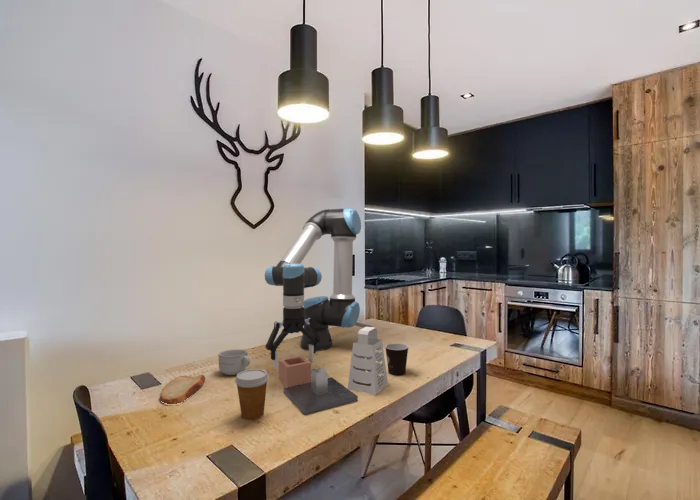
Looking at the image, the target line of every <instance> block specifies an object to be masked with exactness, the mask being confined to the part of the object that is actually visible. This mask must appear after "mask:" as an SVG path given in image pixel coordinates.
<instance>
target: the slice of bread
mask: <svg viewBox="0 0 700 500" xmlns="http://www.w3.org/2000/svg"><path fill="white" fill-rule="evenodd" d="M205 380H206V377H205V374H200V375H197V376H187V375H179V376H177V377H174V379H172V380H170V381H168V383H166V385H164V386H163V388H162V390H161V393H160V397H159V400H160V399H161V401H162V402H164V403H167V404H177V403H181V402H183V401H184V400H186V399H187V398H189V397H190V396H191V395H192V394H193V393H194V394H195V393H197V392H198V391H199V389H200V388H201V387H202V386H203V385H204V383H205ZM196 391H197V392H196ZM194 394H193V395H194ZM193 395H192V396H193ZM192 396H191V397H192ZM191 397H190V398H191ZM190 398H189V399H190ZM161 401H160V402H161ZM186 401H187V400H186ZM183 403H184V402H183Z"/></svg>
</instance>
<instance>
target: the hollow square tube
mask: <svg viewBox="0 0 700 500" xmlns="http://www.w3.org/2000/svg"><path fill="white" fill-rule="evenodd" d="M311 370H312V363H311V362H310V361H309V359H307V358H305V356H303V355H299V356H297V355H296V356H292V357H287V358H286V357H285V358H281V359H278V379H279V381H281V382H282V383H283V384H284V386H285V387H291V386H295V385H300V384H304V383H309V382H311Z"/></svg>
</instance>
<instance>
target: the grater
mask: <svg viewBox="0 0 700 500" xmlns="http://www.w3.org/2000/svg"><path fill="white" fill-rule="evenodd" d="M383 345H384V344H383V340H382V339H379V338H378V329H377V328H376V327H373V326H364V327H363V328H361V329H359V330H358V332H357V339H356V340H355V341H354V342H352V349H351V358H350V365H349V374H348V382H347V383H348V384H347V389H349V390H350V391H351V390H352V391H356V392H361V393H366V394H370V395H373V396H375V395H378V393H379V392H380V391H382V390H383V389H384V388H385V387H386V386H387V385H388V384H389V381H388V374H387V372H388V371H387V365H386V359H385V352H384V346H383ZM358 383H359V384H358ZM364 384H367V385H364ZM369 384H370V385H369Z"/></svg>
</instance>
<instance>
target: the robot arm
mask: <svg viewBox="0 0 700 500" xmlns="http://www.w3.org/2000/svg"><path fill="white" fill-rule="evenodd" d="M361 221H362V220H361V217H360V215H359V212H358V211H357V210H355V209H354V208H335V209H333V208H332V209H329V208H328V209H322V210H320V211H318V212H316V213H314V214H313V215H312V216H310V218H308V219H307V221H306V222H305V223H304V224H303V226H302V231H301V232H300V233H299V235H298V236H297V238H296V239H295V240H294V241H293V243H292V244H291V245H290V247H289V248H288V250H287V251H286V252H285V254H284V255H283V256H282V258H281V259H280V260H279V261H278V263H277V264H276V266H274V265H273V266H269V267H267V268H266V270H265V273H264V280H265V282H266V283H267V284H268V285H270V286H276V287H282V290H283V293H282V306H283V307H282V321H274V323H273V329H272V331H271V333H270V336H269V337H268V340H267V342H266V345H265V346H264V347H265V348H264V349H266V350H268V351H270V359H271V360H272V361H273V365H272V366H273V369H274V370H276V371H279V351H278V348H279V346H281V344H282V343H283V341H284V339H285V338H286V337H287V336H288V335H289V334H296V333H297V334H299V333H302V336H301V338H300V343H299V344H300V349H303V350H305V351H308V361H310V362H311V364H314V362H315V360H314V359H315V358H314V357H315V356H314V355H315V354H316V352H317V351H323V350H327V349H330V348H332V347H333V339H332V336H331V333H330V329H329V326H330V327H338V328H352V327H354V326H355V325H356V324H357V321H358V319H359V317H360V310H361V306H360V303H359V302H357V301H356V297H355V295H353V255H354V254H353V250H354V249H353V248H354V247H353V246H354V244H353V243H354V241H355V240H356V239H357V235H358V234H360V232H361V229H362V222H361ZM325 235H330V238H331V240H332V241H333V288H332V289H333V291H332V294H331V295H330V296H329V297H328V296H325V295H324V296H315V297H309V298H307V299H305V289H307V288H313V287H315V286H318V285H320V283H321V281H322V277H323V275H322V272H321V271H320V269H319V268H317V267H315V266H308V267H304V264H303V263H302V262H303V260H304V259H305V258H306V256H307V254H308V253H309V251H310V250H311V249H312V247H313V246H314V244H315V243H316V242H317V240H319V239H321V238H322V237H323V236H325ZM282 327H283V329H282V330H281V332H280V334H278V333H279V330H280V329H281V328H282ZM277 335H278V337H277Z"/></svg>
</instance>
